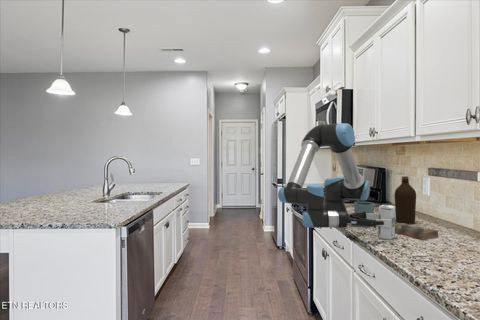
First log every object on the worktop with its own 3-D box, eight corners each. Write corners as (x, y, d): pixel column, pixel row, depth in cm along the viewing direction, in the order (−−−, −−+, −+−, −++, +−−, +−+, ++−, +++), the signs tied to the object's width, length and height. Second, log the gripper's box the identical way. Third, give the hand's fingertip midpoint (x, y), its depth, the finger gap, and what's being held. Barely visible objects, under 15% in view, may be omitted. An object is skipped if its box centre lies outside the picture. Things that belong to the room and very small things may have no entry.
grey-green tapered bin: (356, 222, 182) (356, 200, 182) (376, 224, 177) (376, 202, 176) (352, 226, 173) (352, 203, 173) (372, 228, 168) (372, 204, 168)
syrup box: (382, 235, 154) (381, 204, 154) (395, 237, 150) (395, 205, 150) (378, 238, 149) (378, 206, 149) (392, 240, 146) (392, 207, 145)
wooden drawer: (388, 231, 161) (388, 221, 161) (403, 229, 166) (403, 219, 166) (422, 240, 145) (422, 229, 145) (438, 237, 149) (438, 226, 149)
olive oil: (413, 225, 173) (413, 177, 173) (391, 222, 180) (391, 176, 180) (418, 222, 181) (418, 176, 181) (398, 219, 188) (398, 175, 188)
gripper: (332, 221, 164) (376, 221, 162) (343, 234, 139) (396, 234, 137) (332, 206, 164) (376, 206, 161) (343, 216, 139) (395, 216, 137)
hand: (385, 219), depth 149 cm, fingers open, 13 cm apart
